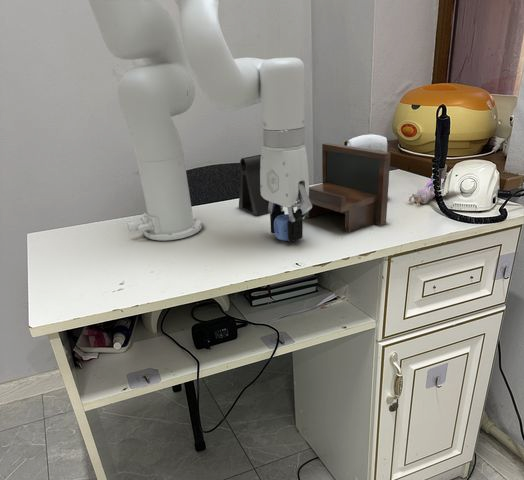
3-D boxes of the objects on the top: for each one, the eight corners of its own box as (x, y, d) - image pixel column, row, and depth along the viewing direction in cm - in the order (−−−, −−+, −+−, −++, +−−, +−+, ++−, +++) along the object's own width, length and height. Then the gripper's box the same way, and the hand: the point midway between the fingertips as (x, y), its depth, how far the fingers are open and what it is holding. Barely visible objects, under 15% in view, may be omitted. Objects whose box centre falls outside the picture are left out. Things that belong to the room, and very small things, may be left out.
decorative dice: (280, 241, 95) (279, 221, 93) (273, 235, 98) (273, 215, 96) (299, 238, 96) (299, 218, 94) (292, 232, 99) (292, 212, 97)
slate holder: (344, 238, 96) (346, 163, 88) (288, 218, 109) (285, 151, 101) (386, 224, 101) (390, 152, 93) (327, 206, 114) (327, 142, 106)
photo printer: (381, 182, 128) (384, 131, 121) (387, 186, 124) (390, 134, 118) (343, 186, 127) (344, 135, 120) (348, 190, 123) (349, 138, 117)
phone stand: (279, 210, 114) (275, 156, 107) (256, 216, 112) (252, 161, 105) (259, 202, 121) (255, 151, 114) (238, 207, 118) (233, 155, 112)
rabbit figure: (424, 213, 108) (470, 189, 113) (423, 187, 105) (472, 163, 109) (403, 207, 113) (449, 184, 117) (402, 182, 109) (449, 159, 114)
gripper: (241, 135, 91) (247, 229, 101) (296, 148, 79) (297, 253, 89) (273, 129, 95) (276, 221, 105) (331, 141, 83) (328, 242, 93)
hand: (286, 234), depth 97 cm, fingers closed on decorative dice, 5 cm apart
